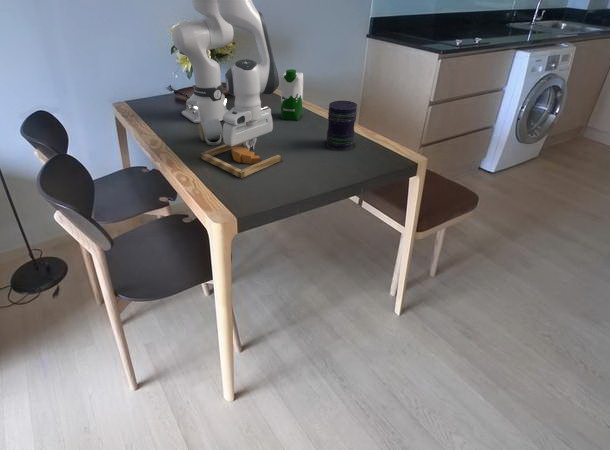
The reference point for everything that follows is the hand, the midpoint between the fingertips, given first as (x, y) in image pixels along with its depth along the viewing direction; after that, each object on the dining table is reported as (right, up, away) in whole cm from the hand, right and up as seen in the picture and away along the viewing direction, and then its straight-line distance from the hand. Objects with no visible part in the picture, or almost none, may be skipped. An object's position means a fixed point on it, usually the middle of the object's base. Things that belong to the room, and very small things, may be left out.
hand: (249, 150), depth 147 cm
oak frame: (-3, -4, -2) cm, 5 cm away
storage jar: (+33, +3, +6) cm, 34 cm away
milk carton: (+18, +20, +33) cm, 43 cm away
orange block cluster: (-3, -4, -1) cm, 5 cm away
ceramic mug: (-15, +6, +14) cm, 21 cm away
